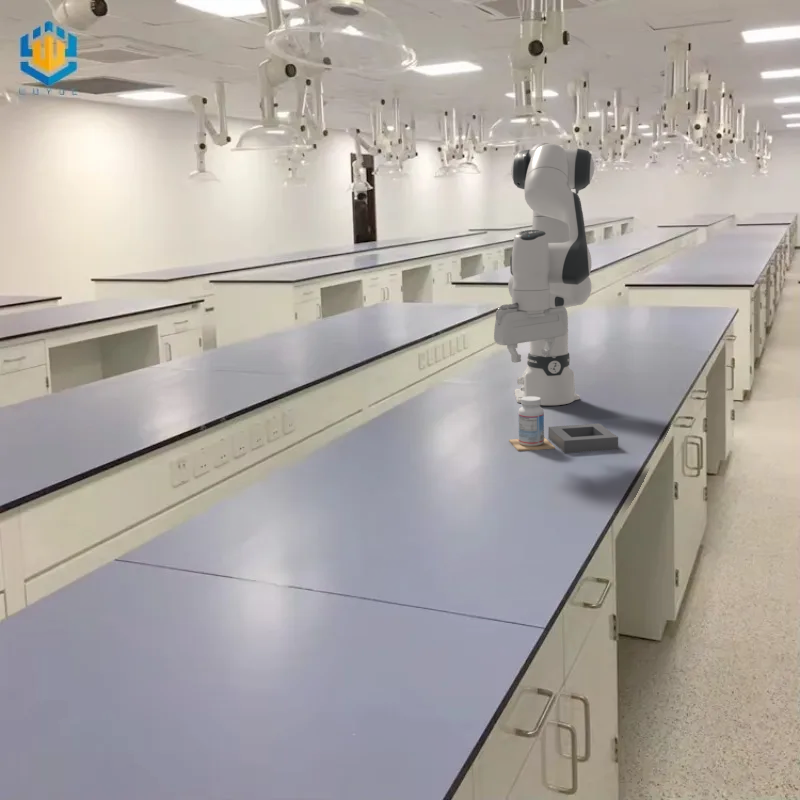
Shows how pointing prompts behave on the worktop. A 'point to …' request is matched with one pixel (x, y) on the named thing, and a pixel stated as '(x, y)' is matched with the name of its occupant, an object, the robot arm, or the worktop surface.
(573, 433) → the grey square bottle holder
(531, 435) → the pill bottle
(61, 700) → the worktop surface
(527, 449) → the cork pad
